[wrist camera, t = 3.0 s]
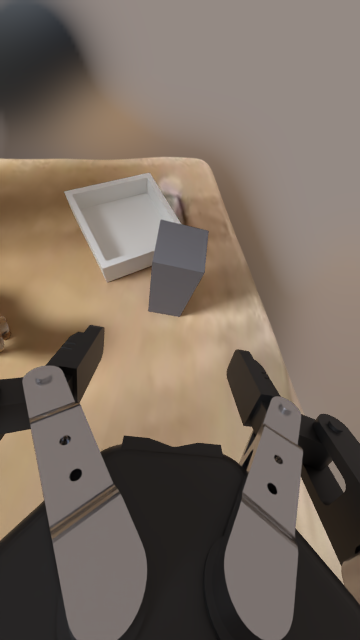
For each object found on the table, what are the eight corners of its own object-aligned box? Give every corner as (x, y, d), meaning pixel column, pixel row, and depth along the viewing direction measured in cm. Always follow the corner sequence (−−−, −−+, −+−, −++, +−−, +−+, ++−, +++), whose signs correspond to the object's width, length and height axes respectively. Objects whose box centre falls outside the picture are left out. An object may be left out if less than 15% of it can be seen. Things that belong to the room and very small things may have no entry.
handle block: (148, 311, 27) (152, 261, 16) (153, 283, 29) (160, 219, 18) (179, 316, 28) (204, 272, 17) (183, 288, 29) (208, 230, 18)
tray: (107, 282, 28) (102, 268, 24) (72, 212, 30) (63, 191, 27) (185, 253, 31) (189, 238, 28) (149, 193, 34) (149, 172, 30)
